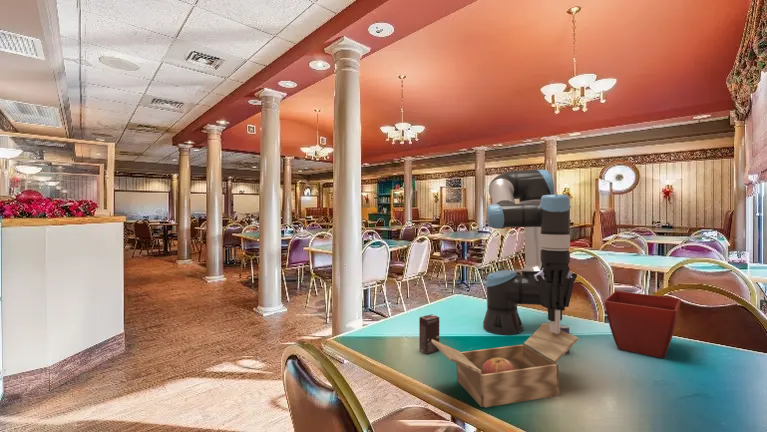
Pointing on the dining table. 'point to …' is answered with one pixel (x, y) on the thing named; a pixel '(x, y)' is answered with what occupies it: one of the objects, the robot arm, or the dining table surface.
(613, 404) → the dining table surface
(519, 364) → the carton
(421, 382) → the dining table surface
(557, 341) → the flap
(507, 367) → the apple
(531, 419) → the dining table surface
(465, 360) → the flap
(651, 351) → the plant pot
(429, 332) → the box
